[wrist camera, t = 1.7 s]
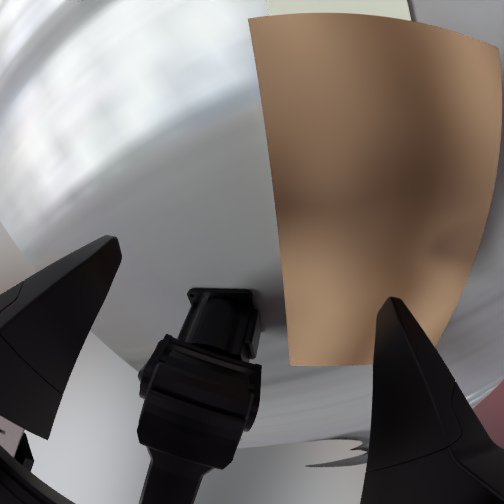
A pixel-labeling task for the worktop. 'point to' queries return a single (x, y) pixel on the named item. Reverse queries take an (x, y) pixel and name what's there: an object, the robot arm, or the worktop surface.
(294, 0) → the tile
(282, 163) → the brown wooden u-shape
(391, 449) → the robot arm
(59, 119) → the worktop surface
